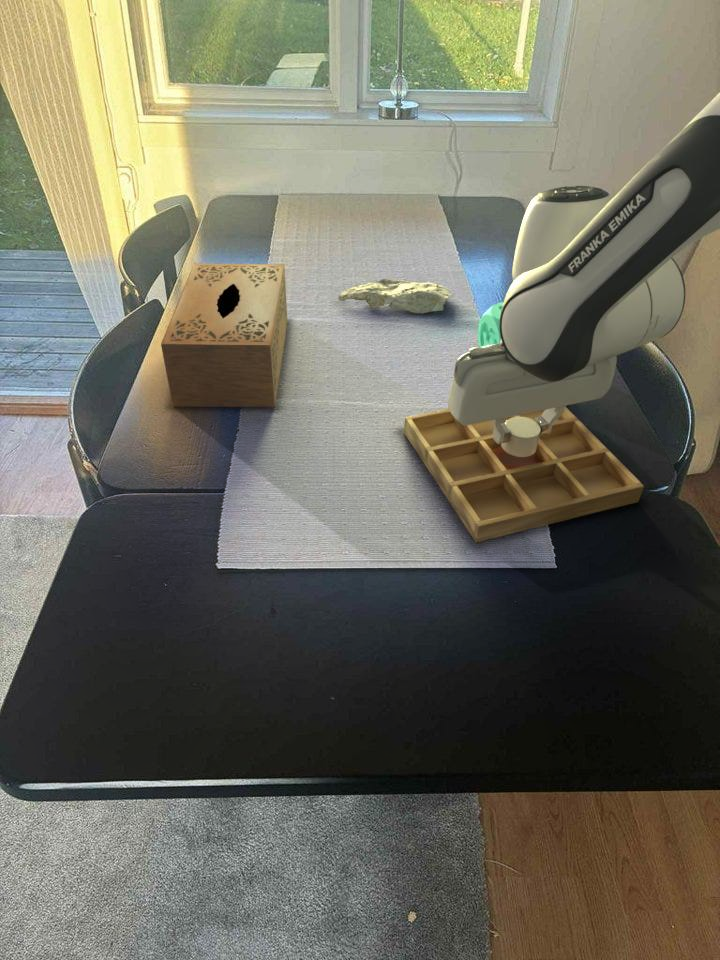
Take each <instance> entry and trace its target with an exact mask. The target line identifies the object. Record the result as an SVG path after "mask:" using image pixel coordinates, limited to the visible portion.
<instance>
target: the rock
mask: <svg viewBox="0 0 720 960" xmlns="http://www.w3.org/2000/svg"><path fill="white" fill-rule="evenodd" d="M449 296H452V292H451V291H450V290H449V289H447V288H446V287H445V286H443V285H441V284H436V283H432V282H412V281H407V280H404V279H403V280H402V279H399V280H398V279H392V278H383V279H380V280H376V281H370V282H368V283H363V284H360V285H356V286H353V287H351V288H348V289H345V290H344V291H342V292H341V293H339V295H338V301H339V302H344V301H347V300H354V301H365V302H366V303H367V304H368V306H369V308H373V307H375V308H378V307H384V305H388V308H390V309H393V310H394V309H401V310H405V311H408V312H411V313H413V314H416V313H417V314H425V313H426V314H427V313H431V312H439V311H444V304H446V301H447V299H448V298H449Z"/></svg>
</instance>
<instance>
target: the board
mask: <svg viewBox="0 0 720 960" xmlns="http://www.w3.org/2000/svg"><path fill="white" fill-rule="evenodd" d="M544 411H545V410H541V411H536V412H531V413H526V414H521V415H516V416H511V417H507V418H506V421H507V420H509V419H510V418H514V417H526V418H529V419H532V420H534V421H535V418H536V417H540V416H541V415H542V414H543V412H544ZM505 423H506V422H505ZM505 423H501V424H505ZM493 429H494V426H493V425H492V423H491V421H486V422H481V423H476V424H472V425H466V426H464V425H462V424H460V423H459V422H458V421H457V420H456V419H455V418H454V416H453V415H452V414H451V412H450V411H449V409H448V408H445V409H441V410H435V411H430V412H424V413H419V414H414V415H408V416H405V417H404V426H403V434H404V436H405V437H406V438H407V439H408V441H409V443H410V444H411V446H412V448H413V449H414V450H415V452H416V454H417V455H418V456H419V458H420V460H421V461H422V463H423V464H424V466H425V467H426V469H427V470H428V472H429V473H430V475H431V477H432V478H433V479H434V481H435V483H436V484H437V485H438V487H439V489H440V490H441V492H442V493H443V495H444V496H445V497H446V499H447V501H448V502H449V504H450V506H451V507H452V508H453V510H454V512H455V514H457V516H458V518H459V519H460V521H461V522H462V523H463V525H464V527H465V528H466V530H467V531H468V534H470V536H471V537H472V539H473V540H474V542H475V543H480V542H484V541H488V540H493V539H497V538H499V537H503V536H509V535H511V534H517V533H520V532H523V531H528V530H531V529H537V528H540V527H545V526H547V525H552V524H556V523H561V522H564V521H568V520H571V519H577V518H580V517H584V516H588V515H593V514H596V513H600V512H603V511H608V510H612V509H616V508H619V507H625V506H628V505H632V504H636V503H639V501H640V498H641V496H642V493H643V490H644V488H645V485H644V484H642V483H641V481H640V480H639V479H638V478H637V477H636V476H635V475H634V474H633V473H632V472H631V471H630V470H629V469H628V468H627V467H626V466H625V465H624V464H623V462H621V461H620V460H619V459H618V458H617V457H616V456H615V455H614V454H613V453H612V452H611V451H610V449H608V448H607V447H606V446H605V445H604V444H603V443H602V442H601V441H600V440H599V439H598V438H597V436H595V434H593V433H592V432H591V431H590V430H589V429H588V428H587V427H586V425H584V423H582V421H580V419H578V417H577V416H575V415H574V414H573V412H572V411H571V410H569V408H567V406H565V410H564V412H563V413H562V414H561V415H560V416H559V418H558V419H557V420H556V421H555V422H554V423H553V425H552V429H551V433H549V434H544V435H540V437H539V441H538V445H537V450H536V452H535V453H534V454H533V455H531V456H527V457H517V456H513V455H511V454H509V453H507V452H506V451H504V449H503V448H502V445H501V444H497V443H496V442H495V440H494V439H493Z"/></svg>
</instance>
